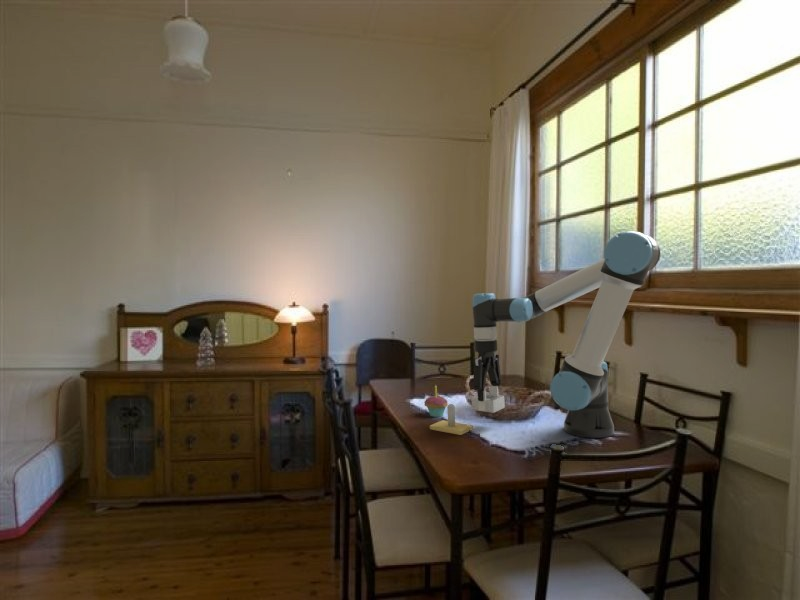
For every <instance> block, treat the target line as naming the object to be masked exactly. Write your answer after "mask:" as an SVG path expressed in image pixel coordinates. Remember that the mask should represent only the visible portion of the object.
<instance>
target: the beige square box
mask: <svg viewBox="0 0 800 600" xmlns="http://www.w3.org/2000/svg"><path fill="white" fill-rule="evenodd" d="M486 404H487V411H483V412H486V413H492V414H493V413H494V414H495V413H496V412H499V411H500V410H502V409H504V408H506V406H505V405H506V403H505V395H503V394H498V395H493V394H490V393H486ZM471 411H476V412H477V411H478V412H480V411H479V410H478V395H476V396H473V397H471Z"/></svg>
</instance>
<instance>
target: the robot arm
mask: <svg viewBox="0 0 800 600" xmlns="http://www.w3.org/2000/svg"><path fill="white" fill-rule="evenodd" d="M603 253H604V254H603V258H602V259H600V260H598V261H596V262H594V263H592V264H590V265H588V266H585V267H584V268H582V269H579V270H577V271H575V272H573V273H571V274H569V275H567V276H565V277H563V278H561V279H558V280H557V281H555V282H552V283H551V284H549V285H547V286H544V287H543V288H540V289H538V290H536V291H535V292H533V293H530V294H528V295H526V296H523V297H513V298H512V297H511V298H496V295H495V293H493V292H490V293H489V292H487V293H486V292H485V293H474V295H472V307H471V308H472V317H473V337H474V341H473V342H474V351H475V353H478V356H477V358H474V359H473V361H472V362H473V385H472V386H473V387H472V389H473V390H474V392H475V391H476V392H477V396H478V410H479V411H478V412H484V411H487V404H486V394H487V391H486V390H485V387H486V381H487V375H488V377H489V381H490V384H491V385H489V394H493V395H499V386H502V375H501V369H500V367H501V366H500V356H499V354H495V353H496V352H498V341H497V338H498V334H497V333H498V331H497V330H498V329H497V323H500V322H501V323H502V322H509V323H510V322H511V323H512V322H513V323H515V322H516V323H521V322H522V323H523V322H528V321H530V320H532V319H535V318H538V317H539V316H541V315H542V314H545V313H546V312H549V311H550V310H552V309H555V308H557V307H559V306H562V305H564V304H566V303H569V302H570V301H572V300H575V299H577V298H579V297H581V296H583V295H586V294H587V293H590V292H592V291H595V290H596V289H597V293H596V294H595V295H596V296H595V298H594V301H593V303H592V306H591V309H590V311H589V313H588V315H587V318H586V320H585V323H584V325H583V327H582V330H581V332H580V335H579V337H578V340H577V342H576V344H575V346H574V350H573V351H572V354H570V355H567V356H565V357H564V360H563V362H562V364H561V366H560V369H559V372H558V373H556V374H555V375H554V376H553V378H552V379H551V382H550V384H549V391H550V395H551V397H552V399H553V400H554V402H555V403H556V405H558V406H559V407H561V408H563V409H564V410H567V413H566V415H565V418H564V421H563V431H565V432H566V434H567V433H568V434H569V435H572V436H576V437H582V438H592V439H593V438H595V439H599V438H600V439H601V438H608V437H612V436H613V435H615V426H614V422H613V419H612V416H611V414H610V410H609V389H608V388H609V380H608V379H609V369H608V364H607V362H606V361H604V360H605V358H606V356H607V354H608V351H609V348H610V347H611V344H612V342H613V339H614V337H615V335H616V332H617V330H618V328H619V325H620V324H621V321H622V318H623V316H624V314H625V312H626V309H627V307H628V304H629V302H630V300H631V298H632V295H633V293H634V291H635V290H636V289H638V288H641V287H642V286H643V284H644V282H645V280H646V278H647V275H648V273H649V272H650V271H652V270H653V269H654V268H656V266H657V265H658V263H659V262H660V258H661V248H660V245H659V243H658V241H656V239H654V238H653V237H652V236H651V235H648V234H645V233H642V232H640V231H634V230H628V231H623V232H620V233H617V234H616V235H614V236H612V238H610V239H609V241H608V242H607V243H606V246H605V248H604V251H603ZM487 373H488V374H487Z"/></svg>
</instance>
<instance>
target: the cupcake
mask: <svg viewBox="0 0 800 600" xmlns="http://www.w3.org/2000/svg"><path fill="white" fill-rule="evenodd" d="M437 388H438V387H437V384H435V385H434V395H432V396H429V397H428V398H426V399H425V400H424V404H423V405H424V406H425V407H426V408H427V410H428V412H429V415H430V417H434V418H438V417H440V416H441V417H443V416H444V413H445V410H446V409H447V408H446V407H448V405H449V404H448V400H447V399H446V398H445V397H442V396H440V395H437V394H438V389H437Z"/></svg>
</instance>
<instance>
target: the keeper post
mask: <svg viewBox="0 0 800 600" xmlns="http://www.w3.org/2000/svg"><path fill="white" fill-rule="evenodd" d="M455 407H456V406H455V404H453V403H449V404H448V405H447V420H444V419H442V420H440V421H438V422H435V423H433V424H431V425H429V430H433V431H437V432H443V433H447V434H448V433H449V434H453V435H458V436H462V435H464V434H467V433H469V432H470V431H472V430H474V425H473V424H467V423H461V422H456V409H455ZM471 429H472V430H471ZM469 430H470V431H469Z"/></svg>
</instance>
